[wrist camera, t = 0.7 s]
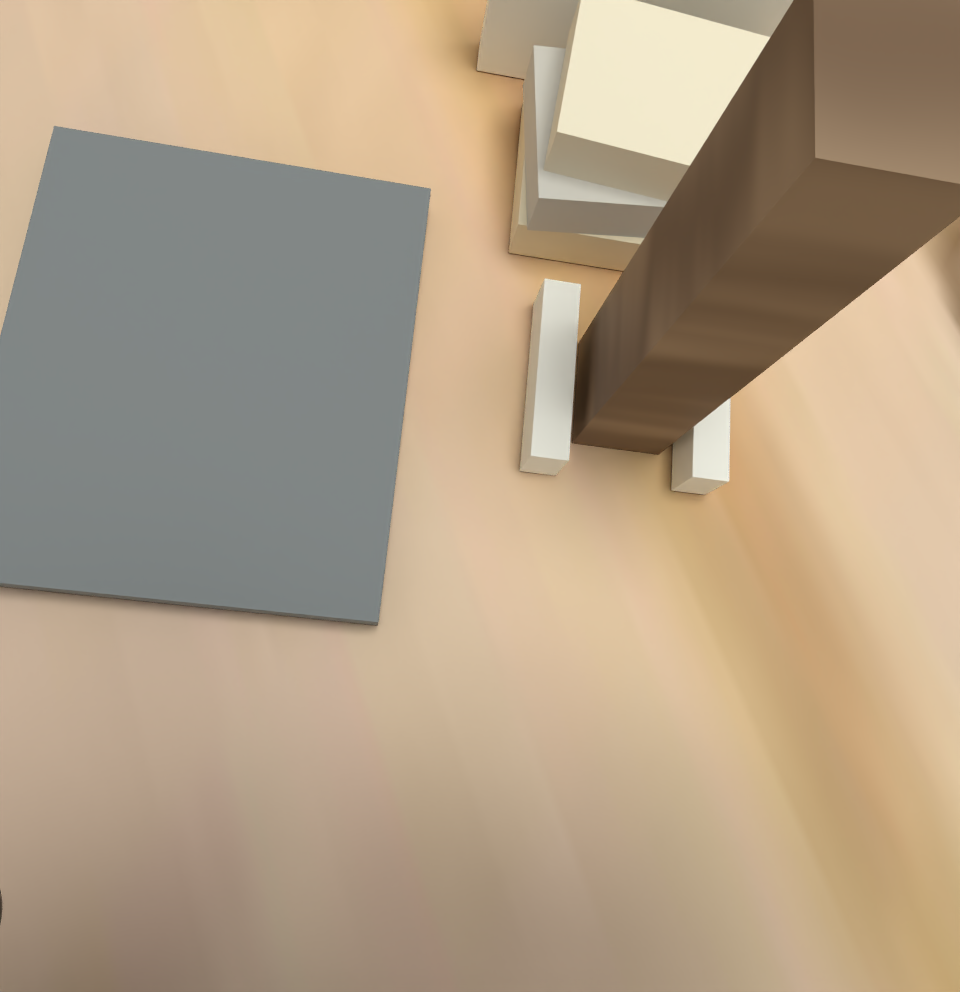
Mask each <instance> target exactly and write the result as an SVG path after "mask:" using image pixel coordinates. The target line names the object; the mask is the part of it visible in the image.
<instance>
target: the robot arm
mask: <svg viewBox="0 0 960 992" xmlns="http://www.w3.org/2000/svg"><path fill="white" fill-rule="evenodd" d="M1 918H2V896H1V891H0V923H1Z"/></svg>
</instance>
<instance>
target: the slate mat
mask: <svg viewBox="0 0 960 992" xmlns="http://www.w3.org/2000/svg"><path fill="white" fill-rule="evenodd" d="M430 191H431V189H430V188H424V187H418V186H412V185H406V184H400V183H394V182H387V181H381V180H375V179H369V178H363V177H357V176H351V175H345V174H339V173H333V172H327V171H321V170H315V169H309V168H303V167H297V166H291V165H285V164H279V163H273V162H267V161H261V160H255V159H249V158H243V157H237V156H231V155H225V154H219V153H213V152H207V151H201V150H195V149H189V148H183V147H177V146H171V145H165V144H159V143H153V142H147V141H141V140H135V139H129V138H123V137H117V136H111V135H105V134H99V133H93V132H87V131H81V130H75V129H69V128H63V127H57V126H54V129H53V133H52V137H51V141H50V144H49V148H48V152H47V156H46V160H45V164H44V168H43V172H42V176H41V180H40V183H39V187H38V191H37V195H36V199H35V203H34V207H33V211H32V215H31V219H30V222H29V226H28V230H27V234H26V238H25V242H24V246H23V250H22V254H21V258H20V261H19V265H18V269H17V273H16V277H15V281H14V285H13V289H12V293H11V297H10V300H9V304H8V308H7V312H6V316H5V320H4V324H3V328H2V332H1V335H0V586H2V587H12V588H21V589H31V590H41V591H50V592H60V593H70V594H79V595H89V596H99V597H108V598H118V599H128V600H137V601H147V602H157V603H166V604H176V605H186V606H195V607H205V608H215V609H225V610H234V611H244V612H254V613H263V614H273V615H283V616H292V617H302V618H312V619H321V620H331V621H341V622H350V623H360V624H370V625H378V621H379V613H380V605H381V596H382V588H383V580H384V572H385V563H386V555H387V547H388V539H389V530H390V522H391V514H392V505H393V497H394V489H395V481H396V472H397V464H398V456H399V448H400V439H401V431H402V423H403V415H404V406H405V398H406V390H407V382H408V373H409V365H410V357H411V348H412V340H413V332H414V324H415V315H416V307H417V299H418V291H419V282H420V274H421V266H422V258H423V249H424V241H425V233H426V224H427V216H428V208H429V200H430Z"/></svg>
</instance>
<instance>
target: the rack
mask: <svg viewBox="0 0 960 992" xmlns="http://www.w3.org/2000/svg"><path fill="white" fill-rule="evenodd" d="M792 2H793V0H487V5H486V11H485V16H484V22H483V27H482V33H481V38H480V44H479V53H478V62H477V71H483V72H488V73H494V74H499V75H505V76H510V77H515V78H521V79H524V83H523V105H522V113H521V123H520V134H519V145H518V156H517V167H516V178H515V189H514V199H513V210H512V221H511V232H510V243H509V253H513V254H519V255H525V256H532V257H538V258H544V259H550V260H557V261H563V262H569V263H576V264H582V265H588V266H594V267H601V268H607V269H613V270H620V271H624V270H625V268H626V267H627V265H628V264H629V262H630V260H631V259H632V257H633V256H634V254H635V252H636V251H637V249H638V248H639V246H640V245H641V243H642V241H643V240H644V238H645V237H646V235H647V233H648V232H649V230H650V229H651V227H652V225H653V224H654V222H655V221H656V219H657V217H658V216H659V214H660V213H661V211H662V209H663V208H664V206H665V205H666V203H667V201H668V200H669V198H670V197H671V195H672V193H673V192H674V190H675V189H676V187H677V185H678V184H679V182H680V181H681V179H682V178H683V176H684V174H685V173H686V171H687V170H688V168H689V166H690V165H691V163H692V162H693V160H694V158H695V157H696V155H697V154H698V152H699V150H700V149H701V147H702V146H703V144H704V142H705V141H706V139H707V138H708V136H709V134H710V133H711V131H712V130H713V128H714V126H715V125H716V123H717V122H718V120H719V118H720V117H721V115H722V114H723V112H724V111H725V109H726V107H727V106H728V104H729V103H730V101H731V99H732V98H733V96H734V95H735V93H736V91H737V90H738V88H739V87H740V85H741V83H742V82H743V80H744V79H745V77H746V75H747V74H748V72H749V71H750V69H751V67H752V66H753V64H754V63H755V61H756V59H757V58H758V56H759V55H760V53H761V52H762V50H763V48H764V47H765V45H766V44H767V42H768V40H769V39H770V37H771V36H772V34H773V32H774V31H775V29H776V28H777V26H778V24H779V23H780V21H781V20H782V18H783V16H784V15H785V13H786V12H787V10H788V8H789V7H790V5H791V4H792ZM580 289H581V284H576V283H570V282H564V281H557V280H551V279H544V281H543V284H542V286H541V288H540V290H539V293H538V295H537V297H536V299H535V302H534V304H533V315H532V327H531V339H530V351H529V363H528V375H527V388H526V400H525V412H524V424H523V436H522V448H521V460H520V471H523V472H531V473H539V474H547V475H554V476H556V475H557V473H558V472H559V471H560V470H561V469H562V468H563V467H564V466H565V465H566V463H567V462H568V461H569V454H570V439H571V424H572V409H573V394H574V379H575V364H576V349H577V334H578V319H579V304H580ZM729 453H730V398H729V399H728V400H727V401H726V402H724V403H723V404H722V405H720V406H719V407H718V408H717V409H715V410H714V411H713V412H712V413H710V414H709V415H708V416H707V417H705V418H704V419H703V420H702V421H700V422H699V423H698V424H696V425H695V426H694V427H693V428H691V429H690V430H689V431H688V432H686V433H685V434H684V435H683V436H681V437H680V438H679V439H677V440H676V441H675V442H674V443H673V455H672V484H671V490H672V491H680V492H688V493H695V494H703V495H706V494H708V493H710V492H711V491H713V490H715V489H717V488H718V487H720V486H722V485H724V484H726V483H727V482H729Z"/></svg>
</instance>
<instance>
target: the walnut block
mask: <svg viewBox="0 0 960 992" xmlns="http://www.w3.org/2000/svg"><path fill="white" fill-rule="evenodd" d="M958 217H960V0H793V2H792V4H791V5H790V7H789V8H788V10H787V12H786V13H785V15H784V16H783V18H782V20H781V21H780V23H779V24H778V26H777V28H776V29H775V31H774V32H773V34H772V36H771V37H770V39H769V40H768V42H767V44H766V45H765V47H764V48H763V50H762V52H761V53H760V55H759V56H758V58H757V59H756V61H755V63H754V64H753V66H752V67H751V69H750V71H749V72H748V74H747V75H746V77H745V79H744V80H743V82H742V83H741V85H740V87H739V88H738V90H737V91H736V93H735V95H734V96H733V98H732V99H731V101H730V103H729V104H728V106H727V107H726V109H725V111H724V112H723V114H722V115H721V117H720V118H719V120H718V122H717V123H716V125H715V126H714V128H713V130H712V131H711V133H710V134H709V136H708V138H707V139H706V141H705V142H704V144H703V146H702V147H701V149H700V150H699V152H698V154H697V155H696V157H695V158H694V160H693V162H692V163H691V165H690V166H689V168H688V170H687V171H686V173H685V174H684V176H683V178H682V179H681V181H680V182H679V184H678V185H677V187H676V189H675V190H674V192H673V193H672V195H671V197H670V198H669V200H668V201H667V203H666V205H665V206H664V208H663V209H662V211H661V213H660V214H659V216H658V217H657V219H656V221H655V222H654V224H653V225H652V227H651V229H650V230H649V232H648V233H647V235H646V237H645V238H644V240H643V241H642V243H641V245H640V246H639V248H638V249H637V251H636V252H635V254H634V256H633V257H632V259H631V260H630V262H629V264H628V265H627V267H626V268H625V270H624V272H623V273H622V275H621V276H620V278H619V280H618V281H617V283H616V284H615V286H614V288H613V289H612V291H611V292H610V294H609V296H608V297H607V299H606V300H605V302H604V304H603V305H602V307H601V308H600V310H599V312H598V313H597V315H596V316H595V318H594V319H593V321H592V323H591V324H590V326H589V327H588V329H587V331H586V332H585V334H584V335H583V337H582V339H581V340H580V342H579V344H578V359H577V374H576V389H575V404H574V419H573V434H572V443H576V444H584V445H591V446H599V447H606V448H614V449H621V450H629V451H636V452H644V453H651V454H660V453H661V452H662V451H664V450H665V449H666V448H667V447H669V446H670V445H671V444H672V443H674V442H675V441H676V440H677V439H679V438H680V437H681V436H683V435H684V434H685V433H686V432H688V431H689V430H690V429H691V428H693V427H694V426H695V425H696V424H698V423H699V422H700V421H702V420H703V419H704V418H705V417H707V416H708V415H709V414H710V413H712V412H713V411H714V410H715V409H717V408H718V407H719V406H720V405H722V404H723V403H724V402H726V401H727V400H728V399H729V398H731V397H732V396H733V395H734V394H736V393H737V392H738V391H739V390H741V389H742V388H743V387H745V386H746V385H747V384H748V383H750V382H751V381H752V380H753V379H755V378H756V377H757V376H758V375H760V374H761V373H762V372H763V371H765V370H766V369H767V368H769V367H770V366H771V365H772V364H774V363H775V362H776V361H777V360H779V359H780V358H781V357H782V356H784V355H785V354H786V353H788V352H789V351H790V350H791V349H793V348H794V347H795V346H796V345H798V344H799V343H800V342H801V341H803V340H804V339H805V338H806V337H808V336H809V335H810V334H812V333H813V332H814V331H815V330H817V329H818V328H819V327H820V326H822V325H823V324H824V323H825V322H827V321H828V320H829V319H831V318H832V317H833V316H834V315H836V314H837V313H838V312H839V311H841V310H842V309H843V308H844V307H846V306H847V305H848V304H849V303H851V302H852V301H853V300H855V299H856V298H857V297H858V296H860V295H861V294H862V293H863V292H865V291H866V290H867V289H868V288H870V287H871V286H872V285H874V284H875V283H876V282H877V281H879V280H880V279H881V278H882V277H884V276H885V275H886V274H887V273H889V272H890V271H891V270H892V269H894V268H895V267H896V266H898V265H899V264H900V263H901V262H903V261H904V260H905V259H906V258H908V257H909V256H910V255H911V254H913V253H914V252H915V251H917V250H918V249H919V248H920V247H922V246H923V245H924V244H925V243H927V242H928V241H929V240H930V239H932V238H933V237H934V236H935V235H937V234H938V233H939V232H941V231H942V230H943V229H944V228H946V227H947V226H948V225H949V224H951V223H952V222H953V221H954V220H956V219H957V218H958Z"/></svg>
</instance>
